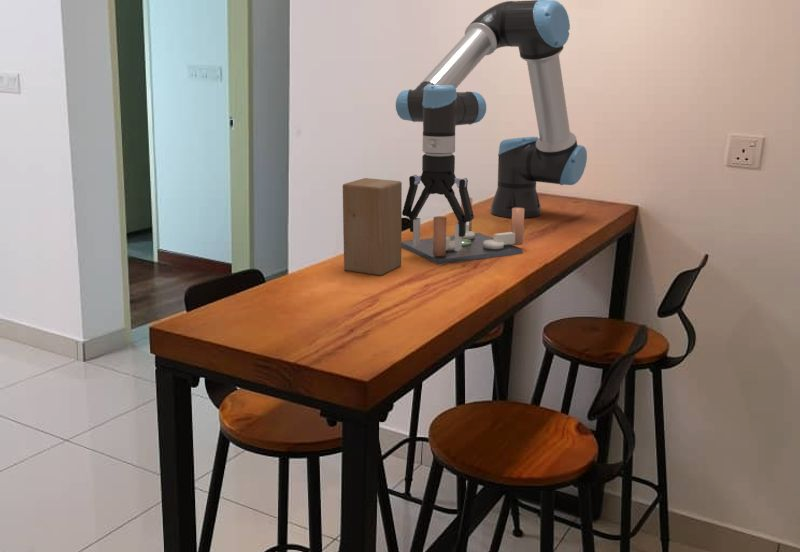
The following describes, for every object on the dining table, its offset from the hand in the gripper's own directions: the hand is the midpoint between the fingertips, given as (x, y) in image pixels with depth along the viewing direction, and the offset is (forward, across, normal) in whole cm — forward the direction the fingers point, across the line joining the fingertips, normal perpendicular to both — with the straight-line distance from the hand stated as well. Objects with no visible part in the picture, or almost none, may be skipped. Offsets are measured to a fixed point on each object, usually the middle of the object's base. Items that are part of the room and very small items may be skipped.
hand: (437, 247), depth 190 cm
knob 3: (+2, +12, +15) cm, 19 cm away
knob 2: (+2, -1, +23) cm, 23 cm away
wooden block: (+3, -11, -12) cm, 17 cm away
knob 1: (+2, 0, +4) cm, 4 cm away
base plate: (+3, +2, +12) cm, 13 cm away
